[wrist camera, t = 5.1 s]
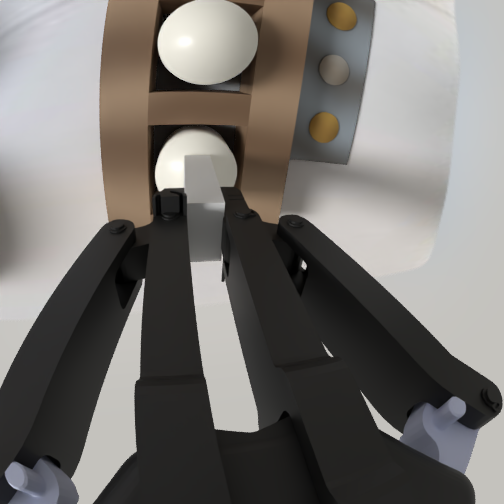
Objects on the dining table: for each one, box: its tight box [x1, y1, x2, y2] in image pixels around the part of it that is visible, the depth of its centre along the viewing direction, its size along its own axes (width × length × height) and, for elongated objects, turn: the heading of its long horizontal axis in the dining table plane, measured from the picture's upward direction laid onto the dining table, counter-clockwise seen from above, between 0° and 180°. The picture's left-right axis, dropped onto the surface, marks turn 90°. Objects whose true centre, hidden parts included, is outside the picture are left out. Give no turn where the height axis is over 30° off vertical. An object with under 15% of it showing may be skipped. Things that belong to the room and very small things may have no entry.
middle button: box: [158, 0, 258, 85], centre depth 12 cm, size 5×5×4 cm
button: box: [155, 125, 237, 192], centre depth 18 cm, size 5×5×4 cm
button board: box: [100, 0, 375, 228], centre depth 15 cm, size 26×19×4 cm
